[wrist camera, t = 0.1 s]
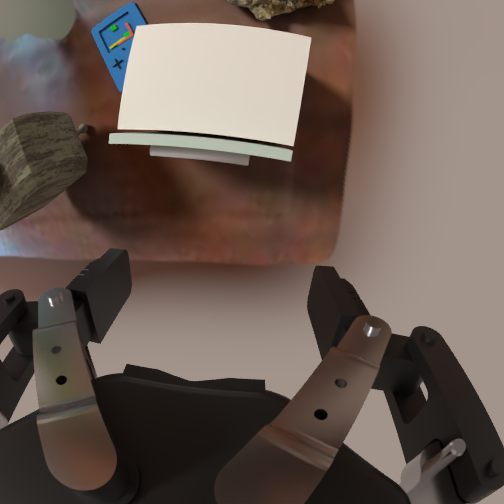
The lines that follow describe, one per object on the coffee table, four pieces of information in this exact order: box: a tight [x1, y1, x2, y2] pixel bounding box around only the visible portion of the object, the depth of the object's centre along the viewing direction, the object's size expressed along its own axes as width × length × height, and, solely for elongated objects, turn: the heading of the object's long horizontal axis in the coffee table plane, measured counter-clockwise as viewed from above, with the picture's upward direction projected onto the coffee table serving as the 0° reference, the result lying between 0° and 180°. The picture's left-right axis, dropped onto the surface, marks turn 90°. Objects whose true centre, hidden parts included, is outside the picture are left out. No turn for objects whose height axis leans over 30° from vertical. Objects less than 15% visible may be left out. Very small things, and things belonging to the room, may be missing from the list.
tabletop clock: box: [0, 112, 88, 230], centre depth 24 cm, size 14×9×25 cm, turn 114°
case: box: [118, 23, 311, 146], centre depth 28 cm, size 12×18×12 cm, turn 81°
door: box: [109, 132, 293, 166], centre depth 29 cm, size 2×17×14 cm, turn 81°
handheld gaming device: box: [92, 2, 147, 92], centre depth 29 cm, size 8×1×15 cm
